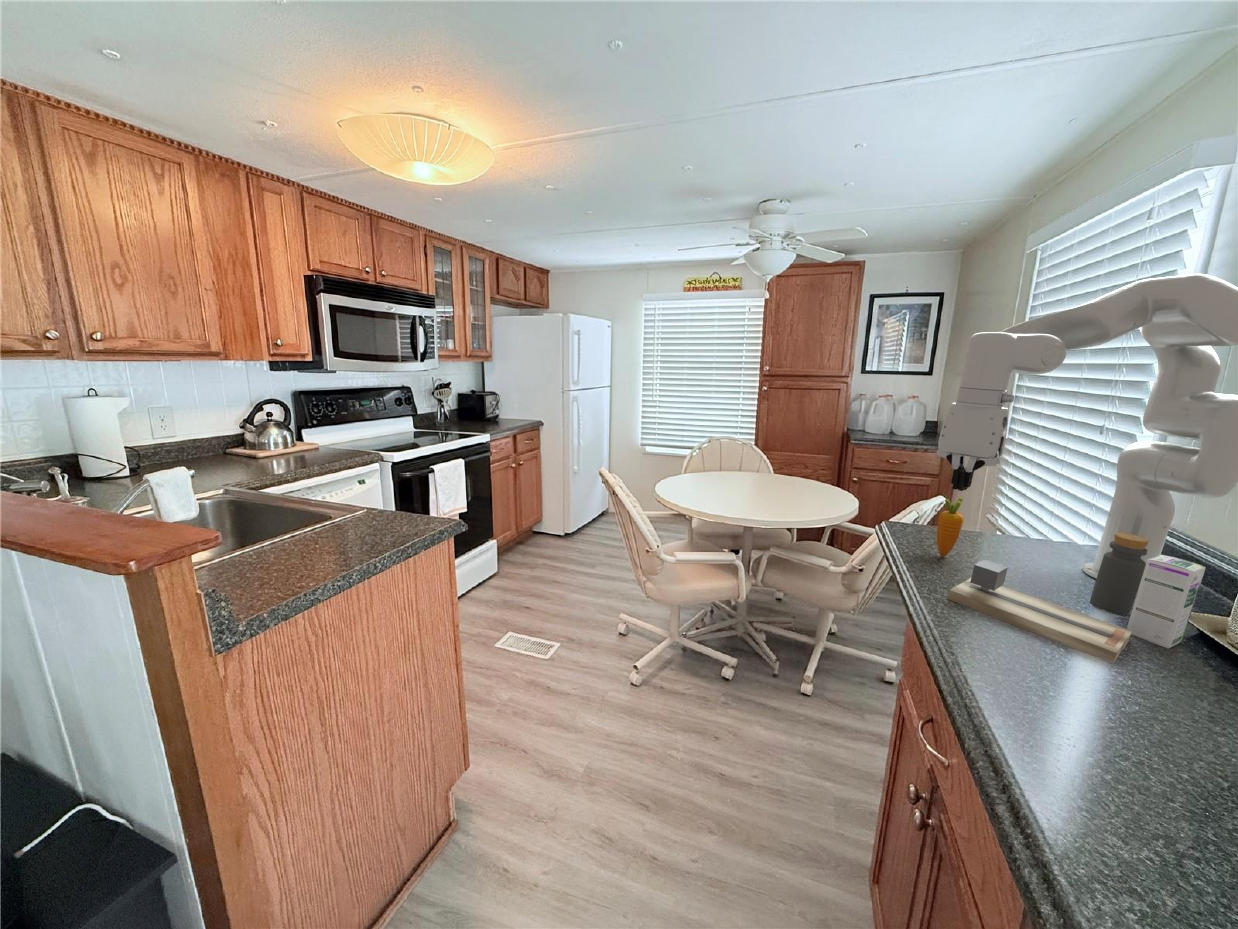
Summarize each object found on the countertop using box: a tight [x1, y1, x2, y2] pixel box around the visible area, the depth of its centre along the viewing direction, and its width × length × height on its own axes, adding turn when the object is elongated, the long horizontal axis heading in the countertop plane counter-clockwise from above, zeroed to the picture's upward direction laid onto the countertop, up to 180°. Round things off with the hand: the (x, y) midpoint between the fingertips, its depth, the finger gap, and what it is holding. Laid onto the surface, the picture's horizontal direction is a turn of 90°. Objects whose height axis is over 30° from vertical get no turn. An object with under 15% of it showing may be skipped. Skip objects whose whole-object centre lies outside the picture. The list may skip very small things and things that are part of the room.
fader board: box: [947, 577, 1132, 665], centre depth 91 cm, size 12×24×2 cm, turn 35°
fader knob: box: [970, 559, 1009, 591], centre depth 97 cm, size 5×4×5 cm
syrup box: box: [1126, 553, 1206, 649], centre depth 86 cm, size 6×6×14 cm
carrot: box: [936, 497, 965, 558], centre depth 117 cm, size 5×5×15 cm
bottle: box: [1089, 533, 1149, 616], centre depth 96 cm, size 6×6×15 cm
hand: (959, 489), depth 99 cm, fingers closed
